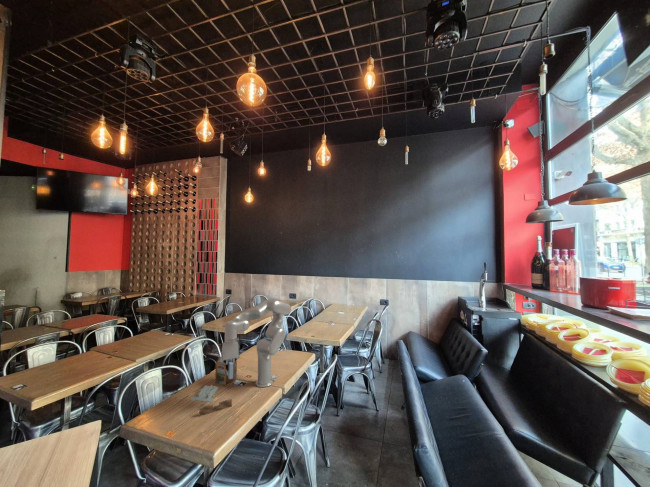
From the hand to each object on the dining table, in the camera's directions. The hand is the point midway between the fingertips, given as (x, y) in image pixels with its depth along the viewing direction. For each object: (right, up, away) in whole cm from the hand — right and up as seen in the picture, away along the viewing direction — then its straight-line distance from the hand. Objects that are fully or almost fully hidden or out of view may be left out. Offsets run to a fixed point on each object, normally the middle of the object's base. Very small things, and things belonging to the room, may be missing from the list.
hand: (229, 369), depth 168 cm
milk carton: (-12, -22, +26) cm, 36 cm away
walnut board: (-4, -19, -11) cm, 23 cm away
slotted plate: (0, -4, 0) cm, 4 cm away
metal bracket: (-18, -21, +5) cm, 28 cm away
